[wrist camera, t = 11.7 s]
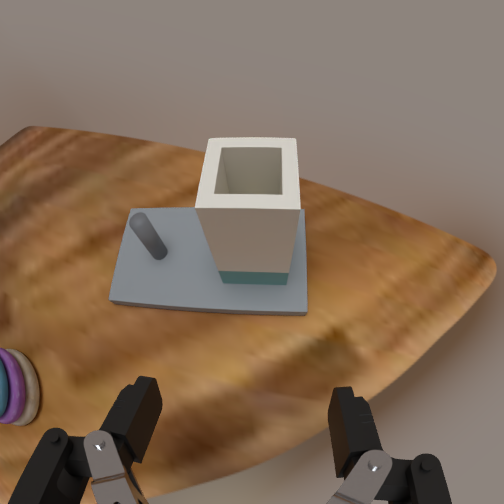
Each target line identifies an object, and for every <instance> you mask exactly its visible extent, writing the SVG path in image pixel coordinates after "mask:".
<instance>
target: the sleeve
mask: <svg viewBox="0 0 504 504" xmlns="http://www.w3.org/2000/svg"><path fill="white" fill-rule="evenodd" d="M297 160H298V159H297V147H296V139H295V138H209V141H208V146H207V150H206V155H205V159H204V164H203V169H202V174H201V179H200V184H199V189H198V194H197V199H196V204H195V210H196V213H197V215H198V218H199V221H200V224H201V226H202V229H203V232H204V235H205V237H206V240H207V243H208V245H209V248H210V251H211V253H212V256H213V258H214V261H215V264H216V266H217V269H218V271H219V274H220V277H221V279H222V282H223V283H228V284H257V285H287V280H288V275H289V270H290V264H291V259H292V254H293V249H294V243H295V238H296V232H297V227H298V221H299V215H300V190H299V174H298V161H297Z"/></svg>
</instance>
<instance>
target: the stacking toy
mask: <svg viewBox="0 0 504 504" xmlns="http://www.w3.org/2000/svg"><path fill="white" fill-rule="evenodd" d="M39 399H40V391H39V383H38V379H37V376H36V373H35V371H34V368H33V366H32V365H31V363H30V362H29V360H28V359H27V358H26V357H25V356H24V355H23V354H22V353H21V352H19V351H17V350H14V349H3V348H0V423H4V424H10V423H11V424H13V425H18V426H23V425H26V424H28V423H30V422H31V421H32V420H33V419H34V417H35V416H36V413H37V410H38V406H39Z"/></svg>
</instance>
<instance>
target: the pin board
mask: <svg viewBox="0 0 504 504" xmlns="http://www.w3.org/2000/svg"><path fill="white" fill-rule="evenodd" d="M109 300H110V301H111V302H113V303H114V304H119V305H128V306H138V307H148V308H159V309H171V310H183V311H197V312H213V313H232V314H255V315H296V316H305V315H306V313H307V266H306V238H305V216H304V209H300V215H299V221H298V227H297V232H296V238H295V243H294V249H293V254H292V259H291V264H290V270H289V275H288V280H287V285H257V284H228V283H223V282H222V279H221V277H220V274H219V271H218V269H217V266H216V264H215V261H214V258H213V256H212V253H211V251H210V248H209V245H208V243H207V240H206V237H205V235H204V232H203V229H202V226H201V224H200V221H199V218H198V215H197V213H196V210H195V207H191V208H136V209H131V211H130V214H129V218H128V221H127V224H126V228H125V232H124V235H123V239H122V243H121V247H120V250H119V254H118V259H117V263H116V267H115V271H114V276H113V280H112V285H111V290H110V295H109Z"/></svg>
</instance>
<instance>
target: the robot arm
mask: <svg viewBox="0 0 504 504" xmlns="http://www.w3.org/2000/svg"><path fill="white" fill-rule="evenodd" d="M161 411H162V398H161V394H160V391H159V387H158V384H157V380H156V379H155V378H151V377H145V376H139V377H138V378H137V380H136V382H135V384H134V385H130V384H129V385H127V386H126V387H125V388H124V389H123V390H121V392H120V393H119V395H118V397H117V400H116V401H115V402H114V404H113V406H112V408H111V409H110V411H109V413H108V415H107V417H106V419H105V420H104V422H103V424H102V426H101V428H100V429H99V430H97V431H93V432H91V433H89V434H88V435H87V436H86V437H76V436H68V435H67V433H66V432H65V431H64V430H63V429H60V428H52V429H49V430H47V431H46V432H45V433H44V435H43V437H42V438H41V440H40V442H39V444H38V445H37V447H36V449H35V451H34V453H33V455H32V456H31V458H30V460H29V462H28V464H27V466H26V468H25V470H24V472H23V473H22V475H21V477H20V479H19V481H18V483H17V485H16V487H15V490H14V492H13V494H12V496H11V498H10V500H9V502H8V504H80V502H81V499H82V496H83V493H84V491H85V488H86V486H87V483H88V480H89V478H90V477H93V482H91V486H92V490H93V493H94V496H95V499H96V502H97V504H149V503H148V502H147V500H146V498H145V497H144V494H143V492H142V490H141V488H140V486H139V484H138V482H137V480H136V477H135V475H134V473H133V470H132V468H131V466H132V463H133V461H134V462H138V463H142V460H143V457H144V455H145V452H146V450H147V447H148V444H149V442H150V439H151V437H152V434H153V431H154V429H155V426H156V424H157V421H158V418H159V416H160V413H161ZM328 423H329V429H330V436H331V442H332V448H333V456H334V463H335V470H336V477H337V478H341V477H344V482H343V484H342V485H341V486H340V488H339V489H338V490H337V492H336V493H335V494H334V495H333V496H332V497H331V499H330V500H329V501H328V502H327V504H371V502H372V501H373V500H386V501H388V504H452V502H451V498H450V495H449V491H448V487H447V483H446V480H445V477H444V473H443V470H442V467H441V463H440V461H439V460H438V458H437V457H435V456H434V455H432V454H421V455H419V456H417V457H416V458H415V459H414V460H401V459H394V458H392V457H390V456H389V455H388V454H387V453H386V452H384V451H383V449H382V447H381V443H380V439H379V436H378V433H377V429H376V426H375V423H374V419H373V416H372V413H371V410H370V407H369V404H368V403H367V402H366V401H365V399H364V398H363V397H354V393H353V390H352V387H351V386H350V387H335V388H334V390H333V393H332V397H331V401H330V405H329V409H328Z"/></svg>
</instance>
